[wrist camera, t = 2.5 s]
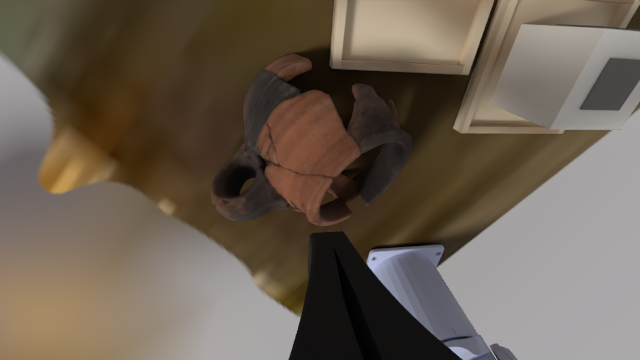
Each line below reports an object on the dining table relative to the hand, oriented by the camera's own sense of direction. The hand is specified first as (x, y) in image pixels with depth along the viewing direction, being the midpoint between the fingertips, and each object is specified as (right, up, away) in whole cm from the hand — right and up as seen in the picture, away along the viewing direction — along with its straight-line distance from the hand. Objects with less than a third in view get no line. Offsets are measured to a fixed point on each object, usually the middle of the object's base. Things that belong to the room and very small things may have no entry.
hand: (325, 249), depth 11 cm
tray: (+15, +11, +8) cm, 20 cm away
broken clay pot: (-2, +6, +8) cm, 10 cm away
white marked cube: (+15, +11, +7) cm, 20 cm away
